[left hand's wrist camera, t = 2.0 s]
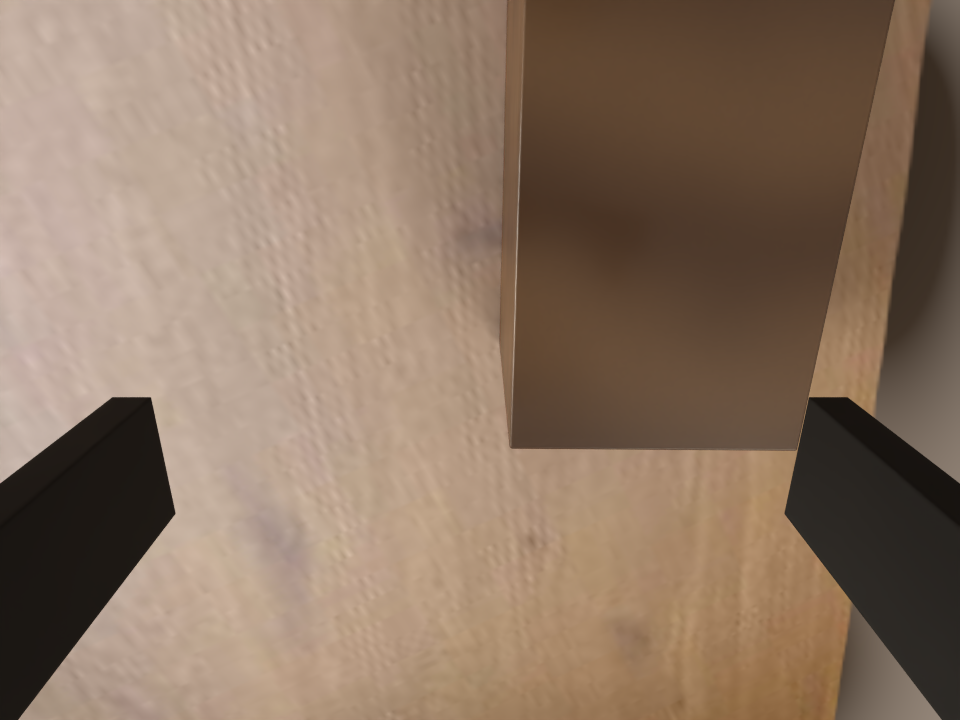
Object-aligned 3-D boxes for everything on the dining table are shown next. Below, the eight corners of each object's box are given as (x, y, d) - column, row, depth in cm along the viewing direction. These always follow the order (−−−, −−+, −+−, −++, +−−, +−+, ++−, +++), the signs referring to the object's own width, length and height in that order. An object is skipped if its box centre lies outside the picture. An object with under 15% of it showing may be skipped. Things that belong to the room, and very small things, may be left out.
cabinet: (507, -12, 28) (526, -95, 17) (746, -9, 28) (916, -90, 17) (499, 344, 34) (509, 449, 23) (695, 346, 34) (797, 451, 23)
